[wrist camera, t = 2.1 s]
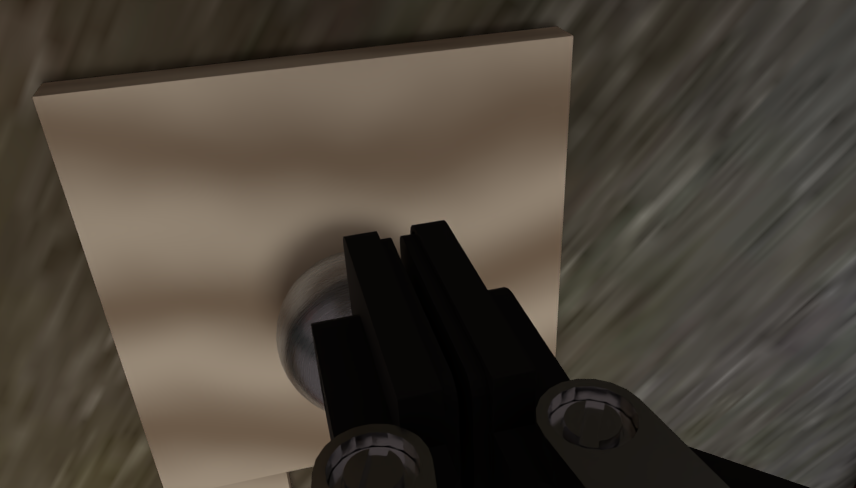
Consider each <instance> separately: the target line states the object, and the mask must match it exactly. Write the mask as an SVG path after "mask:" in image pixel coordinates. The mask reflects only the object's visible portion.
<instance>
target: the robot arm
mask: <svg viewBox="0 0 856 488" xmlns="http://www.w3.org/2000/svg"><path fill="white" fill-rule="evenodd" d="M343 246H344V255H345V263H346V271H347V279H348V288H349V296H350V304H351V312H352V316H346V317H341V318H336V319H330V320H325V321H320V322H314V323H311V330H312V336H313V343H314V349H315V355H316V362H317V368H318V374H319V380H320V385H321V391H322V397H323V402H324V408H325V413H326V418H327V424H328V429H329V434H330V439H331V441H330V442H329V443H328V444H326V445H325V446H324V447H323V449H322V450H321V452H320V453H319V455H318V456H317V458H316V460H315V464H314V468H313V472H312V484H311V488H809V487H806V486H803V485H800V484H797V483H794V482H791V481H789V480H786V479H783V478H780V477H777V476H774V475H771V474H768V473H765V472H762V471H759V470H756V469H753V468H750V467H747V466H744V465H741V464H738V463H735V462H732V461H730V460H727V459H724V458H721V457H718V456H715V455H712V454H709V453H706V452H703V451H700V450H697V449H694V448H691V447H688V446H687V445H686V444H685V443H684V442H683V441H682V440H681V439H680V438H679V437H678V436H677V435H676V434H675V433H674V432H673V431H672V430H671V429H670V428H669V427H668V426H667V425H666V424H665V423H664V422H663V421H662V420H661V419H660V418H659V417H658V416H657V415H656V414H655V413H654V412H653V411H652V410H650V409H649V408H648V407H647V406H646V405H645V404H644V403H643V402H642V401H641V400H640V399H639V398H638V397H636V396H635V395H634V394H632V393H631V392H630V391H628V390H627V389H625V388H623V387H620V386H618V385H616V384H614V383H611V382H606V381H602V380H597V379H574V380H570V379H569V378H568V376H567V375H566V373H565V372H564V370H563V369H562V367H561V366H560V364H559V363H558V361H557V360H556V358H555V356H554V355H553V353H552V352H551V350H550V349H549V347H548V346H547V344H546V343H545V341H544V340H543V338H542V337H541V335H540V334H539V332H538V331H537V329H536V328H535V326H534V325H533V323H532V322H531V320H530V319H529V317H528V316H527V314H526V312H525V311H524V309H523V308H522V306H521V305H520V303H519V302H518V300H517V299H516V297H515V296H514V294H513V293H512V292H511V291H510V289H509V288H506V287H501V288H496V289H491V290H488V289H487V288H486V286H485V285H484V283H483V281H482V280H481V278H480V276H479V275H478V273H477V271H476V270H475V268H474V266H473V265H472V263H471V262H470V260H469V258H468V257H467V255H466V253H465V252H464V250H463V248H462V247H461V245H460V243H459V242H458V240H457V239H456V237H455V235H454V234H453V232H452V230H451V229H450V227H449V225H448V224H447V222H446V221H445V220H440V221H434V222H428V223H422V224H416V225H411V229H410V234H409V235H403V236H400V254H401V258H400V256H399V254H398V252H397V249H396V247H395V245H394V243H393V240H392V238H385V239H380V237H379V235H378V233H377V231H374V232H367V233H361V234H355V235H349V236H343Z"/></svg>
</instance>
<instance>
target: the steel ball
mask: <svg viewBox="0 0 856 488" xmlns="http://www.w3.org/2000/svg"><path fill="white" fill-rule="evenodd" d="M346 316H352V312H351V304H350V296H349V288H348V279H347V271H346V263H345V255H344V252H341V253H337V254H334V255H331V256H328V257H326V258H324V259H322V260H320V261H319V262H317V263H315V264H314V265H312V266H311V267H310V268H309V269H307V270H306V271H305V272H304V273H303V274H302V275H301V276H300V277H299V278H298V279H297V280H296V281H295V282H294V284H293V285H292V286H291V288H290V290H289V291H288V293H287V295H286V297H285V299H284V301H283V303H282V306H281V308H280V312H279V316H278V321H277V330H276V342H277V350H278V354H279V358H280V362H281V364H282V367H283V369H284V371H285V373H286V375H287V377H288V379H289V380H290V382H291V383H292V385H293V386H294V387H295V388H296V390H297V391H298V392H299V393H300V394H301V395H302V396H303V397H304V398H306V399H307V400H308V401H309V402H311V403H312V404H313V405H315V406H317V407H318V408H320V409H322V410H324V411H325V408H324V402H323V397H322V391H321V385H320V380H319V374H318V368H317V362H316V355H315V349H314V343H313V336H312V330H311V323H314V322H320V321H325V320H330V319H336V318H341V317H346Z"/></svg>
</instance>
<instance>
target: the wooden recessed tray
mask: <svg viewBox="0 0 856 488" xmlns="http://www.w3.org/2000/svg"><path fill="white" fill-rule="evenodd" d="M572 51H573V35H571V34H569V33H567V32H566V31H564V30H562V29H561V28H559V27H557V26H556V27H547V28H538V29H529V30H520V31H511V32H502V33H492V34H483V35H474V36H465V37H456V38H447V39H438V40H429V41H420V42H411V43H402V44H392V45H383V46H374V47H365V48H356V49H347V50H338V51H329V52H320V53H311V54H302V55H292V56H283V57H274V58H265V59H256V60H247V61H238V62H229V63H220V64H211V65H202V66H192V67H183V68H174V69H165V70H156V71H147V72H138V73H129V74H120V75H111V76H102V77H92V78H83V79H74V80H65V81H56V82H47V83H42V85H41V86H40V87H39V89H38V90H37V91H36V93H35V94H34V95H33V97H32V98H33V101H34V104H35V107H36V110H37V113H38V116H39V119H40V122H41V125H42V128H43V131H44V134H45V137H46V140H47V143H48V146H49V148H50V151H51V154H52V157H53V160H54V163H55V166H56V169H57V172H58V175H59V178H60V181H61V184H62V187H63V190H64V193H65V196H66V199H67V202H68V205H69V208H70V211H71V214H72V217H73V220H74V223H75V226H76V229H77V232H78V235H79V238H80V241H81V244H82V247H83V250H84V253H85V256H86V259H87V262H88V264H89V267H90V270H91V273H92V276H93V279H94V282H95V285H96V288H97V291H98V294H99V297H100V300H101V303H102V306H103V309H104V312H105V315H106V318H107V321H108V324H109V327H110V330H111V333H112V336H113V339H114V342H115V345H116V348H117V351H118V354H119V357H120V360H121V363H122V366H123V369H124V372H125V375H126V378H127V380H128V383H129V386H130V389H131V392H132V395H133V398H134V401H135V404H136V407H137V410H138V413H139V416H140V419H141V422H142V425H143V428H144V431H145V434H146V437H147V440H148V443H149V446H150V449H151V452H152V455H153V458H154V461H155V464H156V467H157V470H158V473H159V476H160V479H161V482H162V485H163V488H292V485H291V480H290V475H289V471H294V470H298V469H303V468H308V467H312V466H314V464H315V460H316V458H317V456H318V455H319V453H320V452H321V450H322V449H323V447H324V446H325V445H326V444H328V443H329V442H330V441H331V439H330V434H329V429H328V424H327V418H326V413H325V411H324V410H322V409H320V408H318V407H317V406H315V405H313V404H312V403H311V402H309V401H308V400H307V399H306V398H304V397H303V396H302V395H301V394H300V393H299V392H298V391H297V390H296V388H295V387H294V386H293V385H292V383H291V382H290V380H289V379H288V377H287V375H286V373H285V371H284V369H283V367H282V364H281V362H280V358H279V354H278V350H277V342H276V330H277V321H278V316H279V312H280V308H281V306H282V303H283V301H284V299H285V297H286V295H287V293H288V291H289V290H290V288H291V286H292V285H293V284H294V282H295V281H296V280H297V279H298V278H299V277H300V276H301V275H302V274H303V273H304V272H305V271H306V270H307V269H309V268H310V267H311V266H312V265H314V264H315V263H317V262H319V261H320V260H322V259H324V258H326V257H328V256H331V255H334V254H337V253H341V252H344V246H343V236H349V235H355V234H361V233H367V232H374V231H377V233H378V235H379V237H380V239H385V238H392V240H393V243H394V245H395V247H396V249H397V252H398V254H399V256H400V258H401V254H400V236H403V235H409V234H410V229H411V225H416V224H422V223H428V222H434V221H440V220H445V221H446V222H447V224H448V225H449V227H450V229H451V230H452V232H453V234H454V235H455V237H456V239H457V240H458V242H459V243H460V245H461V247H462V248H463V250H464V252H465V253H466V255H467V257H468V258H469V260H470V262H471V263H472V265H473V266H474V268H475V270H476V271H477V273H478V275H479V276H480V278H481V280H482V281H483V283H484V285H485V286H486V288H487V289H488V290H491V289H496V288H501V287H506V288H509V289H510V291H511V292H512V293H513V294H514V296H515V297H516V299H517V300H518V302H519V303H520V305H521V306H522V308H523V309H524V311H525V312H526V314H527V316H528V317H529V319H530V320H531V322H532V323H533V325H534V326H535V328H536V329H537V331H538V332H539V334H540V335H541V337H542V338H543V340H544V341H545V343H546V344H547V346H548V347H549V349H550V350H551V352H552V353H553V355H554V356H555V354H556V336H557V318H558V300H559V282H560V265H561V247H562V229H563V211H564V193H565V176H566V158H567V140H568V122H569V104H570V86H571V69H572Z"/></svg>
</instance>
